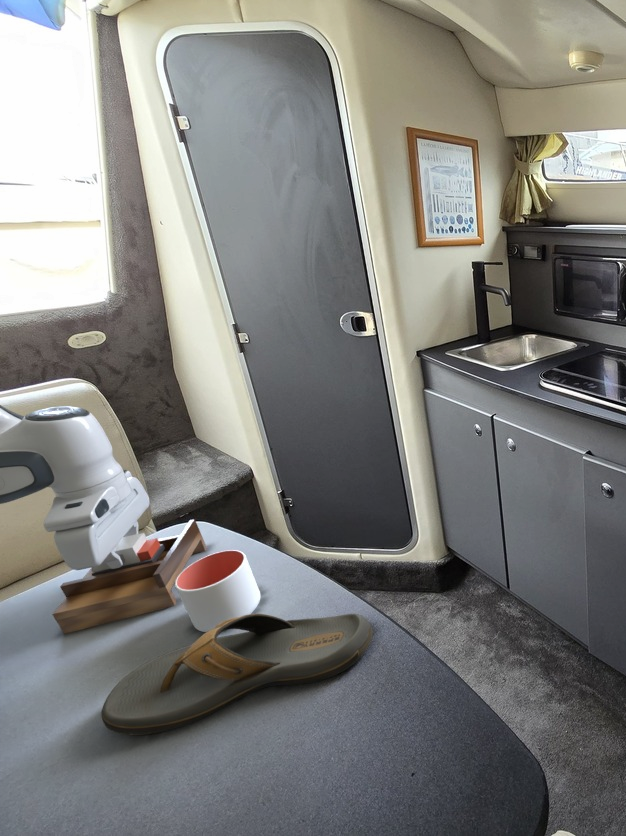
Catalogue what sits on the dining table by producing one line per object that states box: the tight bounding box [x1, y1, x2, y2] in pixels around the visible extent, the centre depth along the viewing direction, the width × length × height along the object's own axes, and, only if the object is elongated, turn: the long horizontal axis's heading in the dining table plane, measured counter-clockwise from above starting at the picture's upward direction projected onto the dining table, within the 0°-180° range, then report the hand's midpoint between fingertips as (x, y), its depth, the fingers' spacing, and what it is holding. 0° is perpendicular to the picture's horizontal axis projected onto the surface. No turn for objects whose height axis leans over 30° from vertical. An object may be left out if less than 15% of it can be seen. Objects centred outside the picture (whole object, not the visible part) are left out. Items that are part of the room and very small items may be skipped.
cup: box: [174, 549, 261, 633], centre depth 87 cm, size 10×10×10 cm
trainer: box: [90, 532, 165, 576], centre depth 92 cm, size 9×5×6 cm, turn 110°
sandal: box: [100, 613, 374, 736], centre depth 75 cm, size 14×34×9 cm, turn 104°
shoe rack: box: [51, 518, 208, 634], centre depth 94 cm, size 16×17×8 cm
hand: (126, 555), depth 92 cm, fingers closed on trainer, 5 cm apart
